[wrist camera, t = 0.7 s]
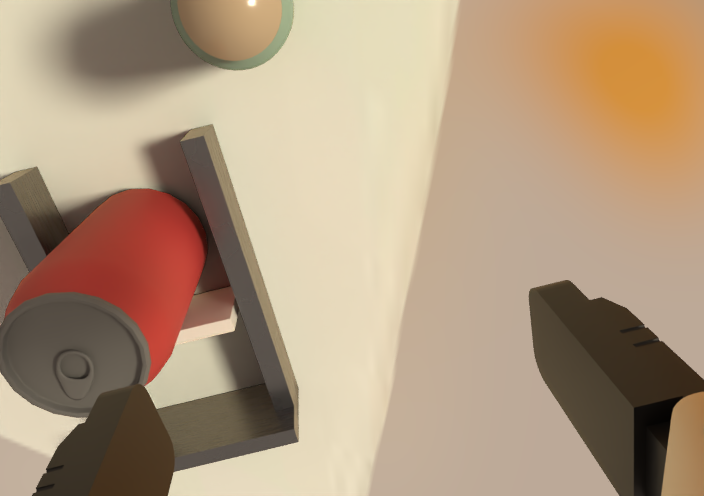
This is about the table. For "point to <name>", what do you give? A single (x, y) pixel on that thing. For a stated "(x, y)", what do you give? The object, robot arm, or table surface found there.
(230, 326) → the pusher
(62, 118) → the table surface
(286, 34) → the jar
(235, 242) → the lane
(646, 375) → the robot arm
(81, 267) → the beer can
